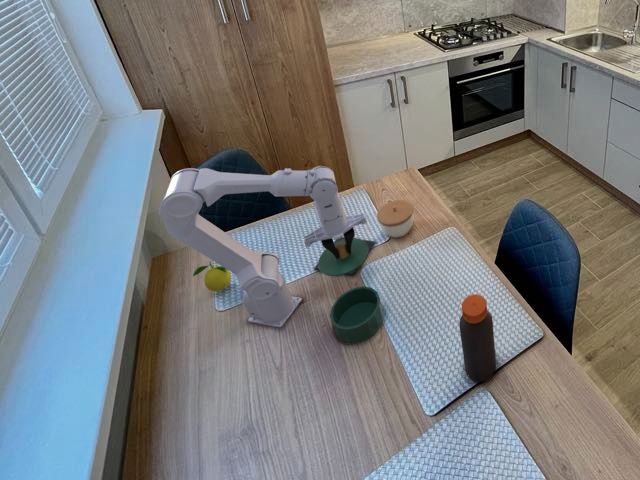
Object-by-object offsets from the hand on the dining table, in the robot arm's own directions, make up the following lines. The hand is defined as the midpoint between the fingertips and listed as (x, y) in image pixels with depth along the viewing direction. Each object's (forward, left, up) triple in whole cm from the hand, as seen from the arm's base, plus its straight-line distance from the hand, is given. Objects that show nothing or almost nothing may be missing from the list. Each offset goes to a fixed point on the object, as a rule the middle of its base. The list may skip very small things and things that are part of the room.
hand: (343, 253), depth 104 cm
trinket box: (+5, +20, -11) cm, 23 cm away
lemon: (-34, -8, -11) cm, 36 cm away
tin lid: (0, 0, -1) cm, 1 cm away
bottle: (+40, -15, -11) cm, 44 cm away
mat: (-7, +8, -10) cm, 15 cm away
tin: (+9, -10, -10) cm, 17 cm away
